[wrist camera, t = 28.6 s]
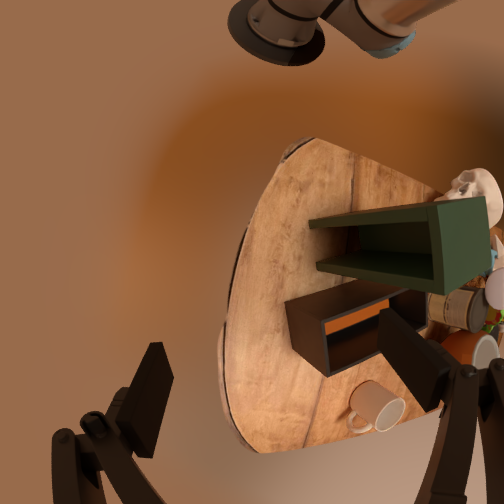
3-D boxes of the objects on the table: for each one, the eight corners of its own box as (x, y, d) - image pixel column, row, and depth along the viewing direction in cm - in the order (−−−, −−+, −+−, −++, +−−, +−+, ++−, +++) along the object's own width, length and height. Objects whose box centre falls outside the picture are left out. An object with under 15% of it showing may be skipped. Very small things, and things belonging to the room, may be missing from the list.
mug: (343, 426, 54) (367, 449, 45) (330, 408, 53) (356, 432, 43) (381, 393, 57) (408, 411, 47) (371, 373, 55) (401, 390, 46)
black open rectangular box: (292, 349, 50) (327, 377, 37) (284, 301, 49) (320, 320, 36) (384, 312, 55) (428, 326, 43) (381, 271, 55) (426, 277, 42)
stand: (316, 270, 50) (444, 296, 23) (308, 220, 49) (437, 205, 22) (368, 255, 53) (491, 266, 26) (360, 210, 53) (485, 195, 26)
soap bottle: (480, 275, 47) (486, 271, 62) (488, 315, 45) (492, 300, 60) (513, 263, 40) (510, 261, 56) (521, 303, 38) (516, 291, 54)
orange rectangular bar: (298, 337, 49) (306, 342, 46) (295, 314, 49) (302, 318, 46) (380, 305, 54) (389, 308, 51) (378, 285, 53) (387, 287, 51)
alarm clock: (453, 345, 44) (503, 309, 44) (418, 344, 61) (465, 316, 61) (469, 420, 38) (517, 380, 38) (434, 406, 55) (479, 375, 55)
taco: (471, 322, 67) (508, 331, 52) (462, 334, 66) (501, 345, 51) (464, 281, 64) (506, 287, 49) (455, 292, 63) (499, 300, 48)
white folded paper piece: (492, 285, 55) (536, 299, 53) (501, 232, 55) (543, 254, 52) (458, 279, 74) (503, 292, 72) (465, 235, 74) (510, 253, 71)
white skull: (420, 177, 55) (481, 147, 46) (429, 217, 70) (480, 191, 61) (447, 226, 48) (513, 192, 39) (448, 259, 63) (502, 231, 54)
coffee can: (444, 273, 61) (487, 279, 47) (450, 306, 62) (490, 315, 49) (422, 296, 58) (468, 305, 45) (429, 329, 60) (471, 342, 47)
